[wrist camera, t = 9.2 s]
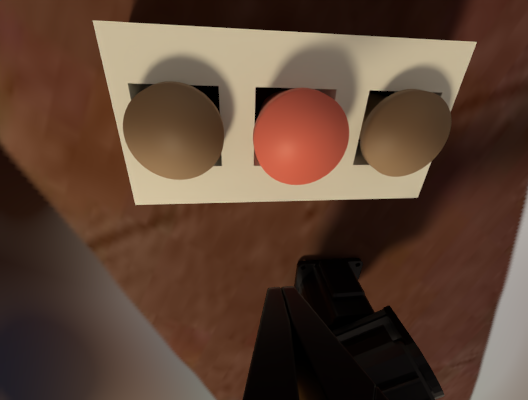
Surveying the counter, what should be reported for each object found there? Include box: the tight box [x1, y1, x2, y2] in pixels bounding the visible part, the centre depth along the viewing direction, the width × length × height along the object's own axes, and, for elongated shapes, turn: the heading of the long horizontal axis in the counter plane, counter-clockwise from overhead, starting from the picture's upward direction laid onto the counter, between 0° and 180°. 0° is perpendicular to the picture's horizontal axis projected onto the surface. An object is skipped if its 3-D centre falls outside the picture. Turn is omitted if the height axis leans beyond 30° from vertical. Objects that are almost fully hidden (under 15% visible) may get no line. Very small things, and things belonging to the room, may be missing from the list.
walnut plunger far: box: [359, 89, 451, 177], centre depth 17 cm, size 5×5×6 cm
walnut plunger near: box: [123, 81, 224, 180], centre depth 15 cm, size 5×5×6 cm
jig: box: [93, 21, 477, 205], centre depth 16 cm, size 9×18×4 cm, turn 88°
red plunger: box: [253, 88, 349, 185], centre depth 15 cm, size 5×5×6 cm
